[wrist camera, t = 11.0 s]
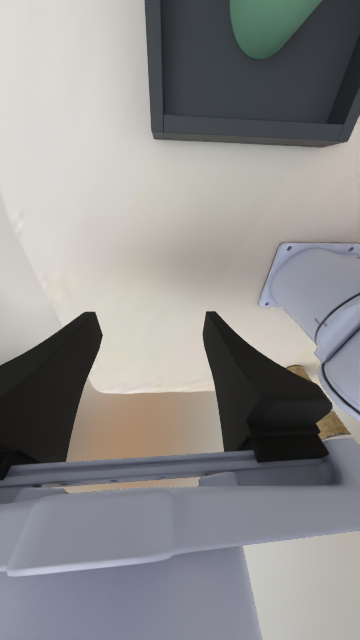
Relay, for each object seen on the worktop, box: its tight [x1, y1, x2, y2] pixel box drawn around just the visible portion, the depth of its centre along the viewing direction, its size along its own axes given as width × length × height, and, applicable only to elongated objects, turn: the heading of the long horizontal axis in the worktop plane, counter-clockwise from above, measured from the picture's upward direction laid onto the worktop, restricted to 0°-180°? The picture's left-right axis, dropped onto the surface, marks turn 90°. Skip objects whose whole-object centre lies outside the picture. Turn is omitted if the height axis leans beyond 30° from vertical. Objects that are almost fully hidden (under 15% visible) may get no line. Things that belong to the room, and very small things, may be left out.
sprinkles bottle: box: [287, 366, 360, 446], centre depth 29 cm, size 5×5×13 cm
